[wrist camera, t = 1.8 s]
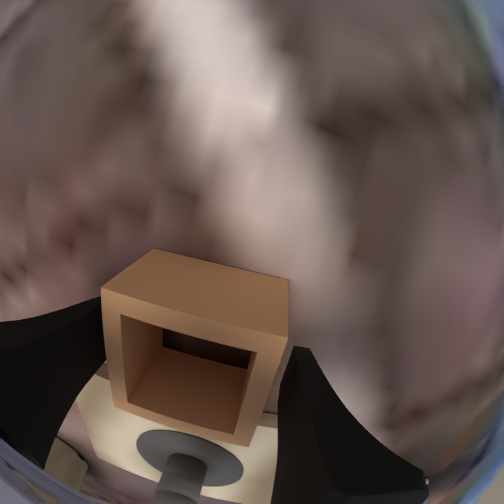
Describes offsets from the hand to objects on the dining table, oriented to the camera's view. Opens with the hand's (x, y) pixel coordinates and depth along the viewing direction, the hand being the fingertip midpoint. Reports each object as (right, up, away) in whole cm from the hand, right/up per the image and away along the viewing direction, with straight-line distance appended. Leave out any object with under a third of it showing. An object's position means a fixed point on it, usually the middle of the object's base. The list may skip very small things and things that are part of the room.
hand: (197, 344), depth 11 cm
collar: (0, +1, +2) cm, 2 cm away
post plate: (-2, -10, +5) cm, 11 cm away
